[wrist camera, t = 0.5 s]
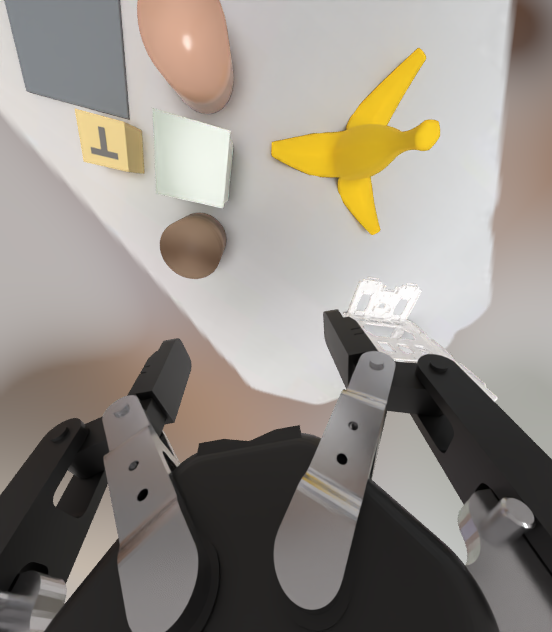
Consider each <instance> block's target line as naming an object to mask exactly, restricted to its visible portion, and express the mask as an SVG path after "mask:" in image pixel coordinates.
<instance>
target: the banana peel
mask: <svg viewBox="0 0 552 632" xmlns="http://www.w3.org/2000/svg"><path fill="white" fill-rule="evenodd" d="M425 60H426V55H425V54H424V52H423V51H422V50H421V49H420V48H417V49H416V50H415V51H414V52H413V53H412V54H411V55H410V56H409V57H408V58H406V59H405V60H404V61H403V62H402V63H401V64H400V65H399V66H398V67H397V68H396V69H395V70H394V71H393V72H392V73H391V74H390V75H389V76H388V77H387V78H385V79H384V80H383V81H382V82H381V83H380V84H379V85H378V86H377V87H376V88H375V89H374V90H373V91H372V92H371V93H370V94H369V95H368V96H367V97H366V98H365V99H364V100H363V102H362V103H361V104H360V105H359V106H358V108H357V109H356V111H355V112H354V114H353V115H352V116H351V117H350V119H349V121H348V124H347V126H346V130H345V131H340V132H325V133H312V134H308V135H303V136H299V137H294V138H289V139H284V140H279V141H274V142H272V148H271V155H272V157H274V158H275V159H277V160H279V161H281V162H283V163H285V164H286V165H288V166H291V167H293V168H295V169H297V170H299V171H301V172H304V173H306V174H308V175H315V176H319V177H339V179H338V192H339V194H340V195H341V198H342V200H343V203H344V204H345V206H346V207H347V208H348V209H349V211H350V212H351V213H352V214H353V216H354V217H355V218H356V219H357V220H358V221H359V223H360V224H361V225H362V226H363V227H364V228H365V229H366V230H367V231H368V232H369V233H370V234H371V235H374V234H376V233H378V232H379V231H380V226H379V223H378V219H377V214H376V210H375V204H374V198H373V190H372V183H371V176H373V175H375V174H377V173H379V172H380V171H382V170H383V169H384V168H386V167H387V166H388V165H389V164H390V163H391V162H392V161H393V160H394V159H395V158H396V157H397V156H398V155H399V154H401V153H403V152H405V151H407V150H420V151H426V150H429V149H430V148H432V146H433V145H434V144H435V143H436V142H437V140H438V138H439V137H440V125H439V122H438V121H436V120H425V121H424V122H422V123H421V124H420V125H418V126H417V127H415V128H413V129H411V130H409V131H404V132H401V131H400V130H398V129H396V128H394V127H390V126H387V124H388V122H389V121H390V119H391V117H392V115H393V113H394V111H395V110H396V108H397V106H398V104H399V103H400V101H401V99H402V97H403V96H404V94H405V92H406V91H407V89H408V87H409V86H410V84H411V82H412V81H413V79H414V77H415V76H416V74H417V73H418V71H419V69H420V68H421V66H422V65H423V63H424V62H425Z"/></svg>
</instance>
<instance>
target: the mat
mask: <svg viewBox="0 0 552 632" xmlns="http://www.w3.org/2000/svg"><path fill="white" fill-rule="evenodd" d="M4 1H5V5H6V9H7V13H8V17H9V21H10V25H11V30H12V34H13V38H14V42H15V46H16V50H17V54H18V58H19V62H20V66H21V71H22V75H23V79H24V83H25V87H26V91H28V92H31V93H35V94H38V95H42V96H45V97H49V98H53V99H56V100H60V101H64V102H67V103H71V104H75V105H78V106H82V107H86V108H89V109H93V110H97V111H100V112H104V113H108V114H111V115H115V116H119V117H122V118H126V119H129V107H128V95H127V83H126V71H125V58H124V46H123V34H122V22H121V10H120V0H4ZM129 120H130V119H129Z"/></svg>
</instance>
